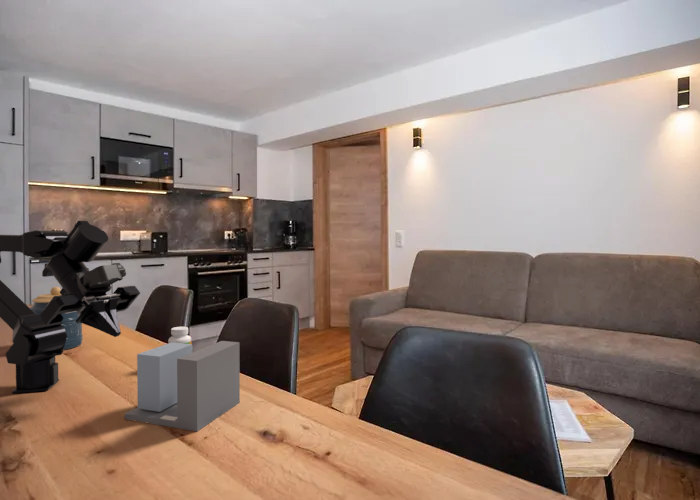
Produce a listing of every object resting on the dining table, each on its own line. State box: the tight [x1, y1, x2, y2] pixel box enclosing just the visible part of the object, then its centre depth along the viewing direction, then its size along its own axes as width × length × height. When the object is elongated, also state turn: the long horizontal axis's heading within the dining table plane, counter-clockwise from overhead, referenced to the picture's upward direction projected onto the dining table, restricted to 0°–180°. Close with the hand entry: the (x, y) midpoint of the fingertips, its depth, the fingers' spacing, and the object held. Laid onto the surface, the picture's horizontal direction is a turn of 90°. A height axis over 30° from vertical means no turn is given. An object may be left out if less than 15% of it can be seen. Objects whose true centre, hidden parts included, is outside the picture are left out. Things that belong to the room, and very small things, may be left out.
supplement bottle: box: [167, 326, 192, 344], centre depth 106 cm, size 5×5×10 cm
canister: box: [29, 286, 84, 351], centre depth 124 cm, size 13×13×18 cm
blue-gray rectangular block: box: [136, 342, 194, 412], centre depth 81 cm, size 5×9×10 cm, turn 163°
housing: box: [124, 340, 241, 432], centre depth 80 cm, size 15×13×12 cm
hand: (118, 335), depth 84 cm, fingers closed
